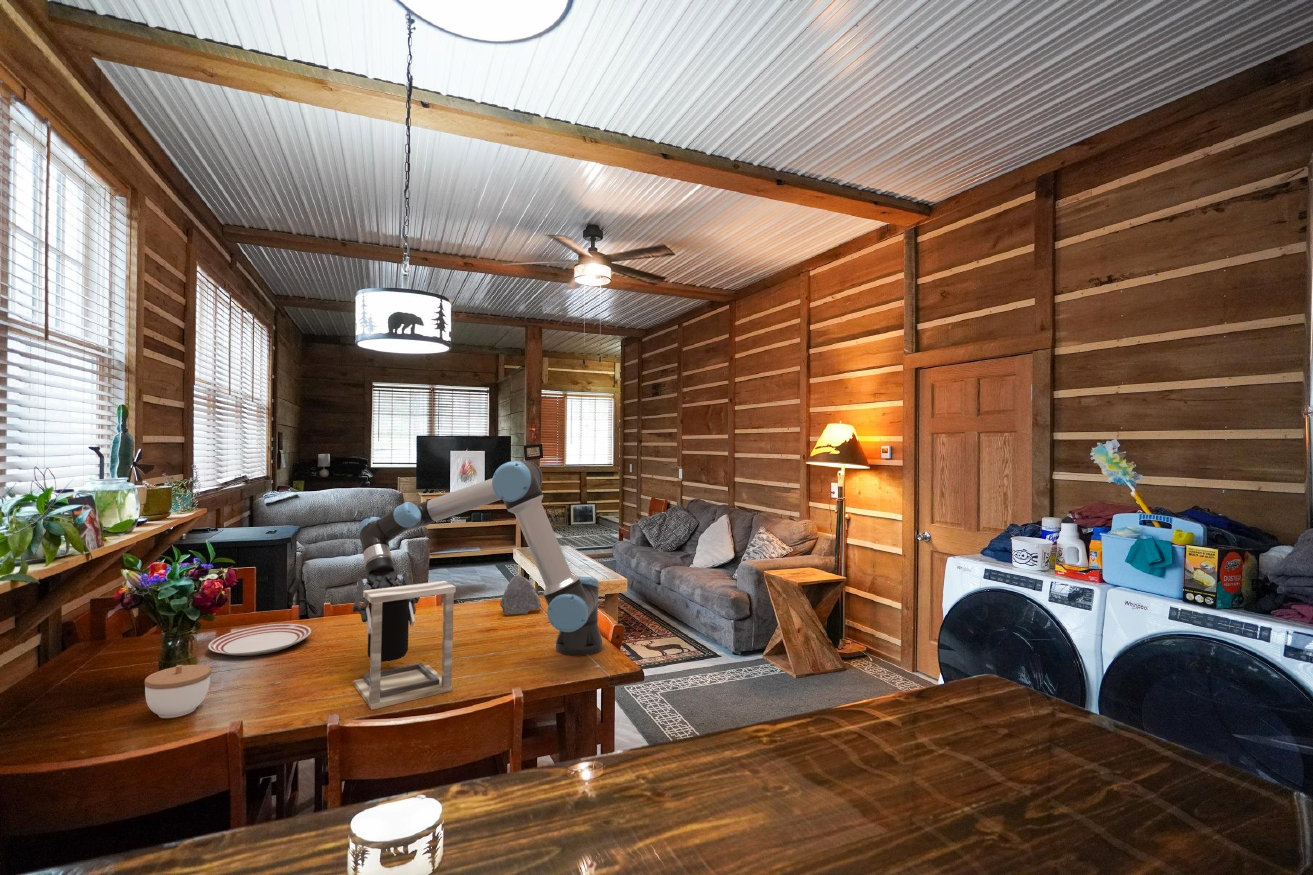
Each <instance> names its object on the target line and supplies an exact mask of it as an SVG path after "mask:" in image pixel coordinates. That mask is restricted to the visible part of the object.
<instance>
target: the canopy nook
mask: <svg viewBox="0 0 1313 875" xmlns="http://www.w3.org/2000/svg"><path fill="white" fill-rule="evenodd" d="M455 593H457V586H455V585H453V584H452V583H451V582H448V581H446V580H441V581H438V580H437V581H433V582H423V583H422V582H421V583H416V584H415V583H413V584H412V585H406V586H403V585H401V586H400V585H399V586H398V587H390V588H382V589H373V590H371V589H368V590H367V589H366V590H362V597H363V598H364V600H365V599H367V600H368V601H369V602H370V603H371V604H372V610H371V648H370V658H369V673H365V674H363V675H362V676H363V677H362V678H360V679H355V680H353V686H354V688H355V689H356V691H357V692H358V693H359V695H360V697H362V699H363V700H364V702H365V703H366V704H367V706H368V707H369V708H370V710H372V711H373V710H377V709H381V708H384V707H385V708H386V707H390V706H393V705H397V704H402V703H405V702H406V703H407V702H411V701H414V700H419V699H422V698H427V697H431V696H435V695H440V694H444V693H448V692H453V685H452V683H453V682H452V679H453V647H454V646H453V638H454V636H453V635H454V605H455V604H454V601H455V600H454V599H455V597H454V596H455ZM438 595H443V607H442V609H443V611H442V616H443V617H442V620H443V621H442V644H441V646H442V649H441V650H442V651H441V652H442V655H441V656H442V657H441V674H440V673H438V672H437V671H436V670H435V669H434V668H433V667H431V665H430V664H428V665H424V664H423V663H422V662H419V663H414V664H408V665H403V666H399V667H394V668H390V669H385V670H381V668H382V662H381V636H382V602H388V601H395V600H402V599H410V598H417V597H420V598H425V597H431V596H438Z"/></svg>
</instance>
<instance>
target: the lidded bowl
mask: <svg viewBox="0 0 1313 875" xmlns="http://www.w3.org/2000/svg"><path fill="white" fill-rule="evenodd" d="M211 673H212V668H211V667H210V666H208V665H205V664H185V665H183V664H177V665H175V666H173V667H169V668H164V669H161V670H159V671H156V672H153V673H151V674H150V675H148V676H146V678H145V679H144V695H145V701H146V705H147V707H148V708H149V709H150V711H151V712H153V713H154V714H156V715H158V716H157V717H158V718H161V719H175V718H179V717H183V716H187V715H189V714H192V713H193V712H195V711H196V710H197V707H198V706H200V704H201V703H202V702H204V700H205V698H206V696H207V695H208V693H209V689H210V684H211V675H212V674H211Z"/></svg>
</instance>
